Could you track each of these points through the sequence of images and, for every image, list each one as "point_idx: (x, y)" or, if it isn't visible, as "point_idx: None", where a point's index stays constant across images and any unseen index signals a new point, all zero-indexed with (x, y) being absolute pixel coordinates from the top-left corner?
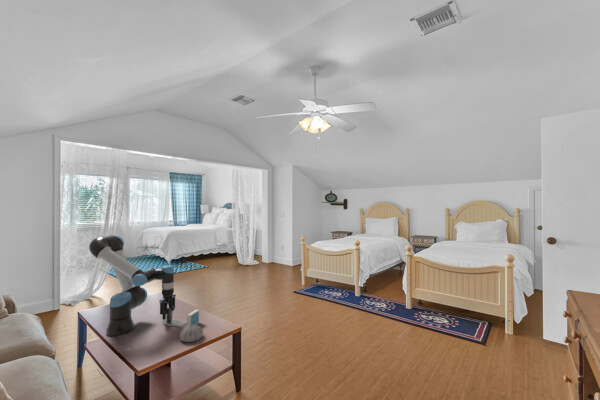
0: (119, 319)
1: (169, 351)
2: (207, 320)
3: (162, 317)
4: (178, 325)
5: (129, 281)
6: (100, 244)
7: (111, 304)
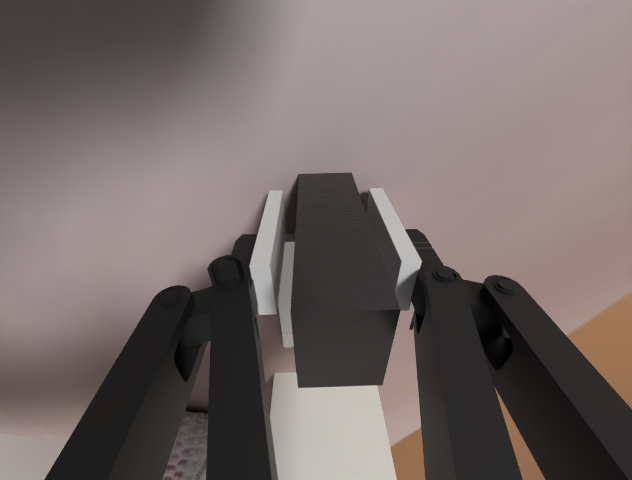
0: None
1: (44, 421)
2: (408, 397)
3: (232, 251)
4: (282, 331)
5: None
6: None
7: None
